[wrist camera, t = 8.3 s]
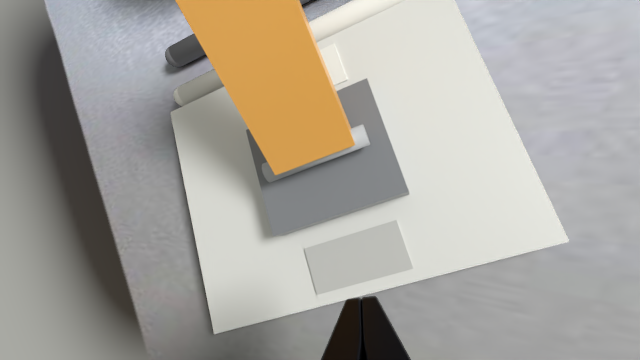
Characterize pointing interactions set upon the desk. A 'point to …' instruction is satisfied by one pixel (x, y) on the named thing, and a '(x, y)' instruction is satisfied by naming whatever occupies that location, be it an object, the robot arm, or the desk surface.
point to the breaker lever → (275, 80)
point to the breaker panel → (366, 177)
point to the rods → (362, 7)
